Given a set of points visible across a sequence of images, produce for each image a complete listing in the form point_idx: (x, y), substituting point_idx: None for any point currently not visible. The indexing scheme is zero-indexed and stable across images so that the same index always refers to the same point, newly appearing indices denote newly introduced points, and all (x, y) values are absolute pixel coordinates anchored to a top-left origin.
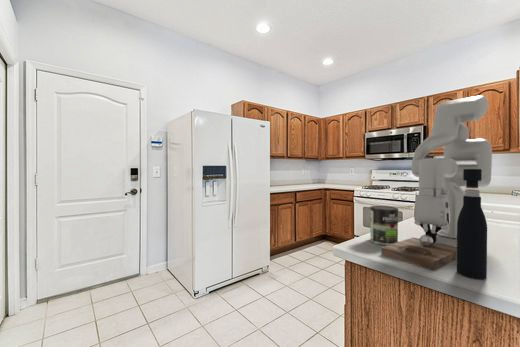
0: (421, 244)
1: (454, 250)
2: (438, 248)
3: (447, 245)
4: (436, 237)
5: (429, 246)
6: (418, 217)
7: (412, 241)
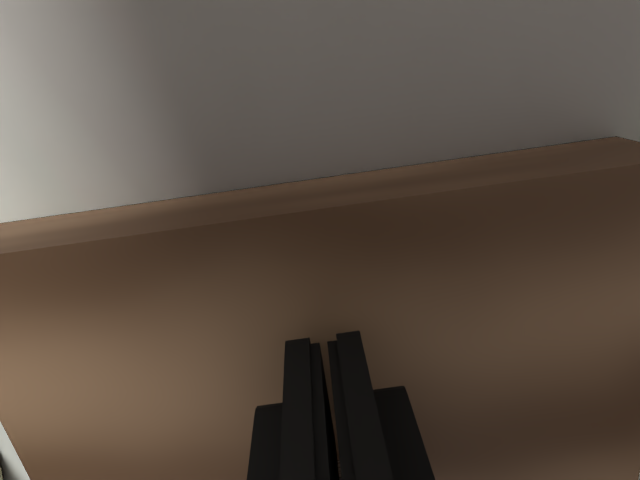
0: None
1: (629, 353)
2: (473, 441)
3: (489, 215)
4: (418, 435)
5: None
6: None
7: (127, 460)
